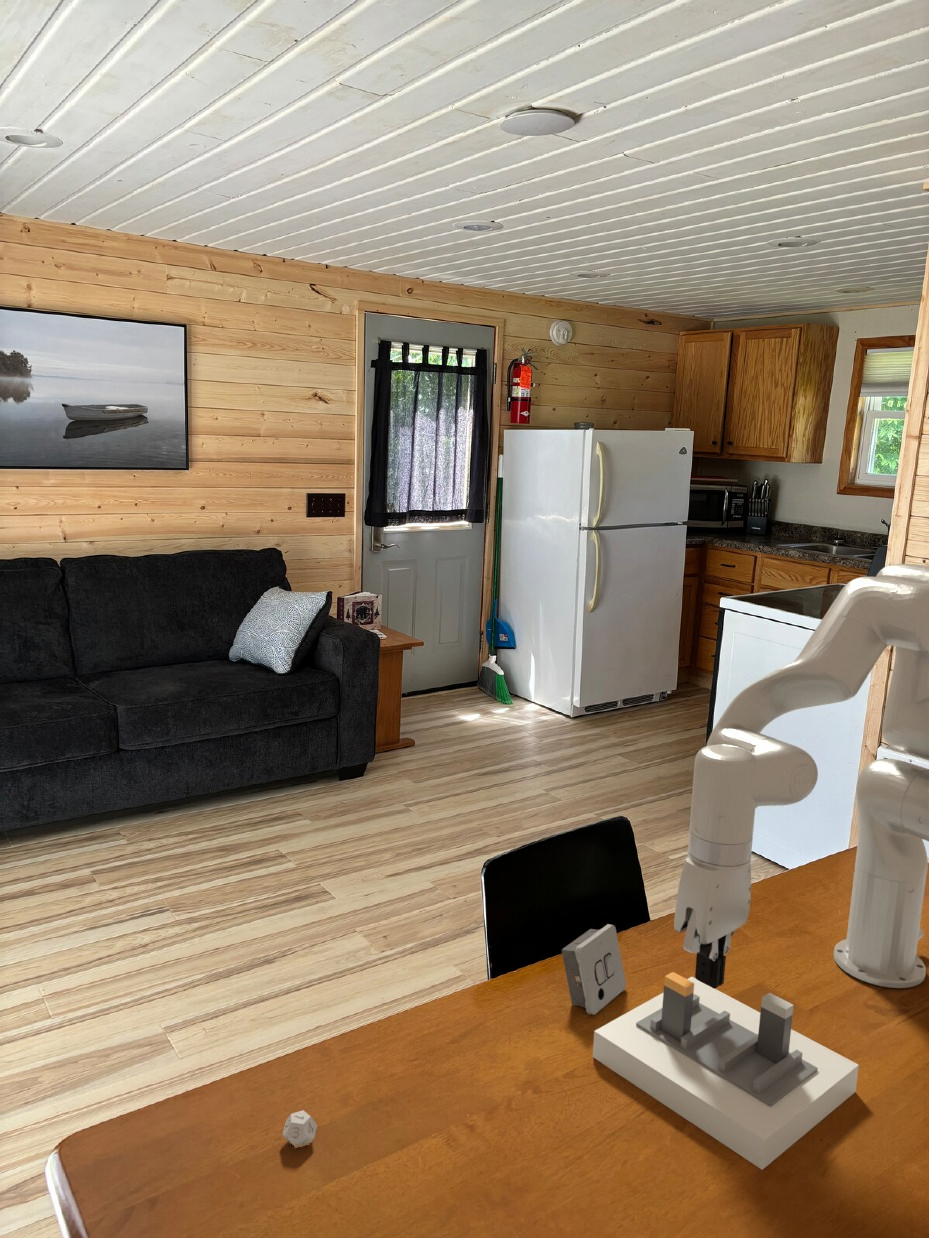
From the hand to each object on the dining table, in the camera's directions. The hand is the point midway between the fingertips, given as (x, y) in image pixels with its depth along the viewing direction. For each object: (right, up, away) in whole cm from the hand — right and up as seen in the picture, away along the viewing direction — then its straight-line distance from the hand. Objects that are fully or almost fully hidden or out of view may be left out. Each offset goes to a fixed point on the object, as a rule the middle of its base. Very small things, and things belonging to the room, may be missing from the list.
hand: (709, 981), depth 122 cm
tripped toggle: (-5, -5, -3) cm, 8 cm away
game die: (-49, -11, -18) cm, 53 cm away
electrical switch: (-13, -7, +11) cm, 19 cm away
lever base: (0, -10, -4) cm, 11 cm away
